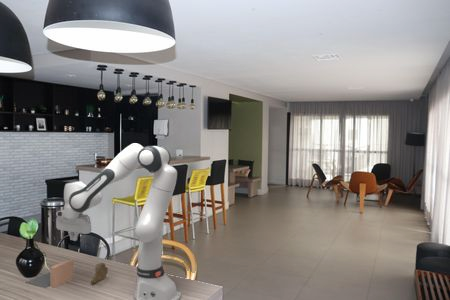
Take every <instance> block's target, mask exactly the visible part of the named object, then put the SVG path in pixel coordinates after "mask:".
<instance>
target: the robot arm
mask: <svg viewBox="0 0 450 300" xmlns="http://www.w3.org/2000/svg"><path fill="white" fill-rule="evenodd" d="M171 160H172V155H171V153H170V151H169V150H168V149H166V147H161V146H159V145H158V146H157V145H147V146H143V145H141V144H140V143H136V142H135V143H134V142H133V143H131V144H129V145H127V146H126V147H124V149H122V150H121V151H120V152H119V153H117V155H116V156H115V157H114V158H113V159H112V160H111V161H110V162H109V164H108V165H106V167H105V168H104V169H103V170H102V171H101V172H100V173H99V174H98V175H96V176H95V177H94V178H93V179H92V180H91V181H89V182H88V183H87V184H85V183H84V182H83V181H82V180H72V181H68V182H67V183H65V185H64V187H63V188H64V189H63V201H64V205H63V209H62V210H58V211H56V213H55V215H56V218H55V228H56V229H57V230H59V231H66V232H67V233H68V235H69V239H70V241H74V242H76V241H78V237H79V235H80V234H82V235H87V234H90V233H91V232H92V222H91V218H90V216H89V215H88V214H84V212H85V211H87V210H89V209H91V208H94V207H96V206H98V205H99V204H100V203H101V202H102V201H103V200H102V199H103V194H102V191H103V189H105V188H106V187H107V186H110V185H111V184H113V183H116V182H119V181H121V180H125V178H128V176H130V175H131V174H132V173H133V172H134V171H136V170H137V169H138V168H139V167H142V168H144V169H146V170H147V171H148V173H150V174H151V173H152V174H153V179H152V181H151V183H150V187H149V190H148V193H147V196H146V199H145V202H144V204H143V207H142V209H141V212H140V215H139V216H138V220H137V222H136V225H135V228H134V235H135V238H136V239H137V240H138V241H139V243H138V249H137V266H136V276H137V280H136V287H135V291H134V295H133V297H134V298H135V300H180V299H181V298H182V292H180V291H178V290H177V286H176V282H174V281H173V280H172V279H171V278H170V277H169V276H168V275H167V274H166V273H165V271H166V270H167V267H164V266H163V264H162V246H163V236H164V235H163V234H164V220H165V217H166V214H167V212H168V209H169V207H170V204H171V200H172V197H173V195H174V194H173V193H174V190H175V189H176V188H175V187H176V184H177V179H178V171H177V169H176V168H175V167H174V166H172V165H170V163H171Z"/></svg>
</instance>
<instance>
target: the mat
mask: <svg viewBox="0 0 450 300" xmlns="http://www.w3.org/2000/svg"><path fill="white" fill-rule="evenodd" d="M25 283H26V284H30V285H34V286H36V287H37V286H38V287H41V288H45V289H46V288H48V287H50V271H49V272H47V273H44V274H42V275H39V276H37V277H34V278H33V279H30V280H26V281H25Z"/></svg>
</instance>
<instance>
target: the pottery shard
mask: <svg viewBox="0 0 450 300" xmlns="http://www.w3.org/2000/svg"><path fill="white" fill-rule="evenodd" d="M94 268H95V273H94V276H93V278H92V279H91V280H90V284H92V285H93V284H95V283H97V282H99V281H101V280H104V279H105V278H106V277H107V274H108V272H109V268H108V267H107V266H106V264H105V262H98V263H96V264H95V265H94Z"/></svg>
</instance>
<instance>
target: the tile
mask: <svg viewBox="0 0 450 300" xmlns="http://www.w3.org/2000/svg"><path fill="white" fill-rule="evenodd" d="M49 272H50V286H49V287H51V288H54V289H55V288H57V287H60V286H61V285H64V284H65V283H67V282H69V281H72V280H74V279H75V278H74V260H73V259H67V260H64V261H61V262H59V263H57V264H54V265H52V266H50V267H49Z"/></svg>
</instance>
